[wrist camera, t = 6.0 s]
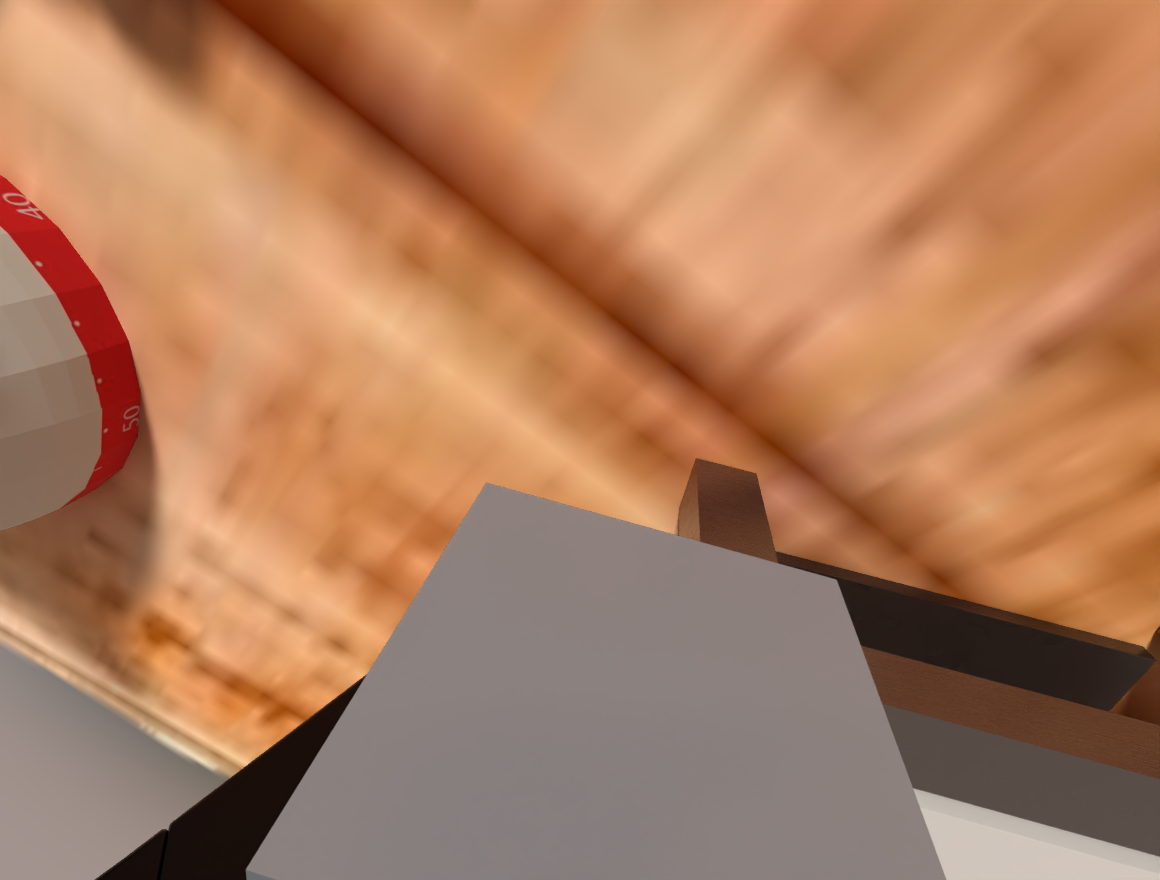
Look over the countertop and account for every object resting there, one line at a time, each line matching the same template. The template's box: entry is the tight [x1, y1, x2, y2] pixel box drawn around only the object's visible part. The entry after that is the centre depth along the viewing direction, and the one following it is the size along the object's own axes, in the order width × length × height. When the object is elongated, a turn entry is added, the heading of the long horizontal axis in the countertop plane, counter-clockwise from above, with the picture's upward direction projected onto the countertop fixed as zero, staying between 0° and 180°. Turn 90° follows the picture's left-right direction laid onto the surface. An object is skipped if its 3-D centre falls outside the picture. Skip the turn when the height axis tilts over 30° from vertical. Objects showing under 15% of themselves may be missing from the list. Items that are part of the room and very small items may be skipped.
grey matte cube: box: [246, 483, 946, 880], centre depth 7 cm, size 5×5×5 cm
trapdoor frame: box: [679, 458, 1160, 857], centre depth 19 cm, size 18×19×8 cm
